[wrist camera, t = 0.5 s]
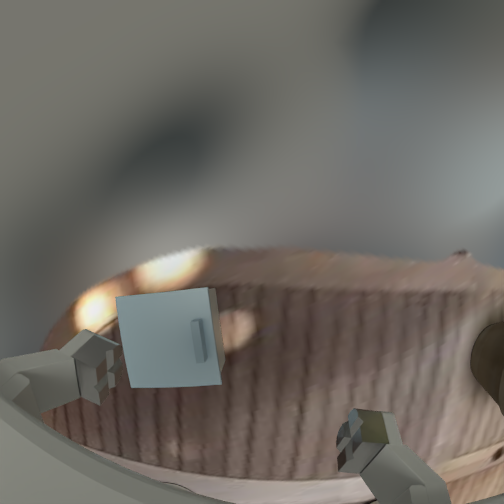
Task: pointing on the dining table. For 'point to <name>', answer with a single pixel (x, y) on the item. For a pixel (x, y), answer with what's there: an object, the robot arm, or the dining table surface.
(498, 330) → the plant pot
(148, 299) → the lid
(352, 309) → the dining table surface
